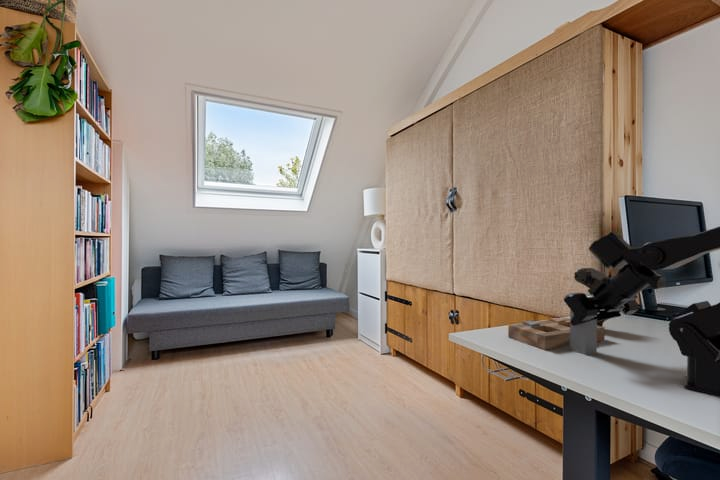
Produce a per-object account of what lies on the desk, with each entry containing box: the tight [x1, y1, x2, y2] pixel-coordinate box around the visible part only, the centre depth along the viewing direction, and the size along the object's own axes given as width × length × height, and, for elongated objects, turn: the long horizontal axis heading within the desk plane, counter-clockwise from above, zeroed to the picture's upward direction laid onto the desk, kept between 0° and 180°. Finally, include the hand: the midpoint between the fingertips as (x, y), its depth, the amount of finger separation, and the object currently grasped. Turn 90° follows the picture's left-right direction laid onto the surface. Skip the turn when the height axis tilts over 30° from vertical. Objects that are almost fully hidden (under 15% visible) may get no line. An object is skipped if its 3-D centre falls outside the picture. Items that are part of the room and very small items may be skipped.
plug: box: [569, 296, 598, 355], centre depth 89 cm, size 4×4×14 cm
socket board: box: [507, 317, 605, 351], centre depth 100 cm, size 12×22×4 cm, turn 112°
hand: (578, 323), depth 91 cm, fingers closed on plug, 4 cm apart
